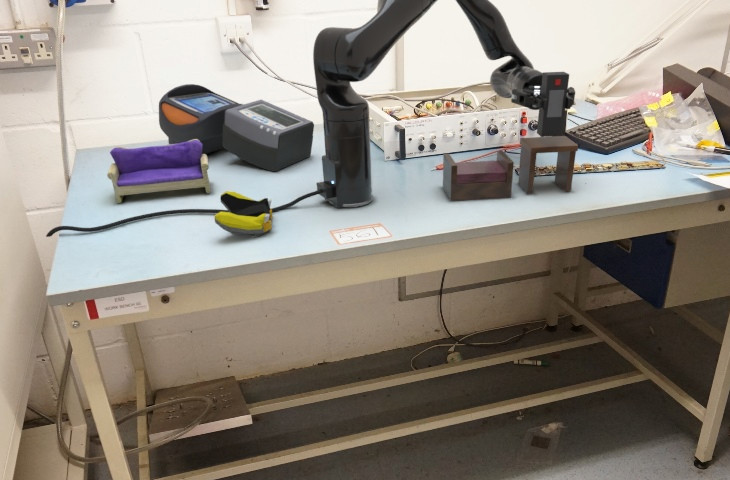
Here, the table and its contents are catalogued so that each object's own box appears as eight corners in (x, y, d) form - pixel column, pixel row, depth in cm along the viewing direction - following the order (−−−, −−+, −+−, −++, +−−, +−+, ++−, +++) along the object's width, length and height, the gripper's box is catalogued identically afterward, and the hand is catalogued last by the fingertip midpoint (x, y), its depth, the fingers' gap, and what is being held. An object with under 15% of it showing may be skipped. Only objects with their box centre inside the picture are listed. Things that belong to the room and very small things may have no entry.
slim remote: (541, 136, 135) (548, 75, 128) (536, 133, 137) (542, 72, 131) (562, 136, 135) (569, 74, 129) (556, 132, 138) (563, 71, 131)
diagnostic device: (146, 82, 159) (209, 68, 176) (148, 147, 170) (208, 128, 186) (269, 138, 148) (325, 118, 164) (263, 204, 158) (316, 178, 175)
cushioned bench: (450, 201, 136) (451, 165, 132) (442, 187, 144) (443, 153, 140) (511, 197, 137) (513, 162, 133) (500, 184, 145) (502, 150, 141)
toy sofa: (113, 204, 139) (101, 156, 134) (117, 192, 147) (106, 146, 141) (213, 194, 144) (205, 147, 138) (212, 182, 151) (204, 138, 146)
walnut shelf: (526, 195, 138) (531, 147, 133) (516, 183, 145) (520, 138, 140) (572, 192, 139) (578, 145, 134) (559, 180, 146) (565, 135, 141)
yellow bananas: (217, 244, 119) (271, 240, 120) (212, 215, 117) (268, 212, 117) (224, 215, 132) (274, 212, 133) (220, 189, 129) (270, 186, 130)
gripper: (501, 71, 142) (524, 85, 128) (565, 69, 144) (594, 83, 129) (499, 107, 146) (521, 125, 132) (561, 104, 147) (589, 122, 133)
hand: (557, 104), depth 130 cm, fingers closed on slim remote, 4 cm apart
